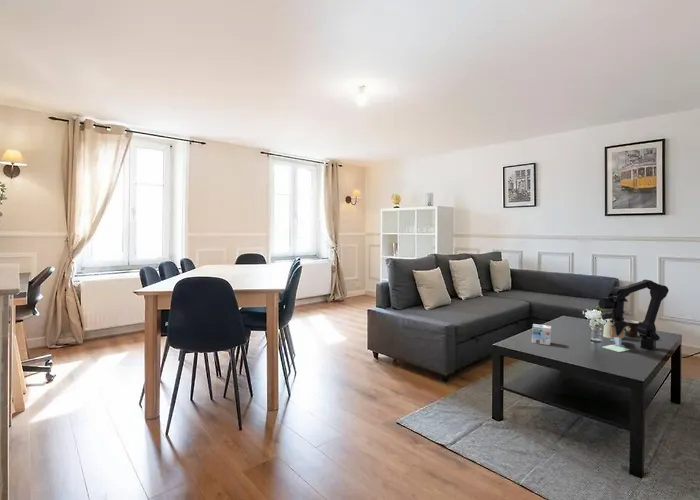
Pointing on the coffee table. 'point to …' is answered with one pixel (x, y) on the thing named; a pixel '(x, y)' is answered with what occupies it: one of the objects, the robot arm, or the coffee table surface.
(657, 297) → the robot arm
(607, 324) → the can
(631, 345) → the coffee table surface
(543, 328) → the light bulb box
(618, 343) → the screen
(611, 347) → the mat
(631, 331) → the coffee mug
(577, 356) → the coffee table surface
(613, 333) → the letter cube
